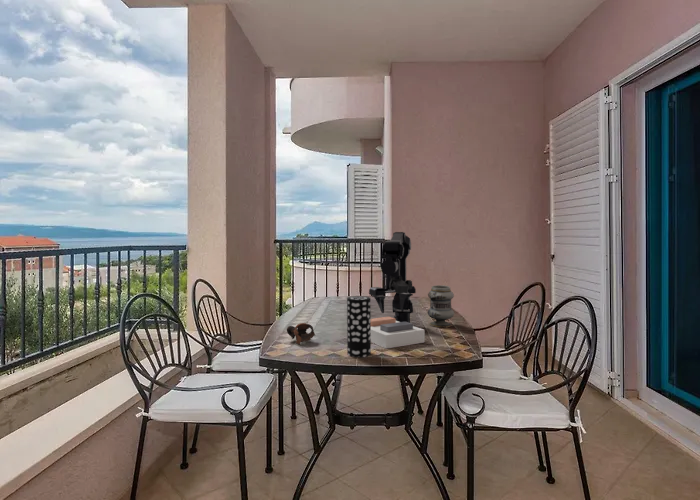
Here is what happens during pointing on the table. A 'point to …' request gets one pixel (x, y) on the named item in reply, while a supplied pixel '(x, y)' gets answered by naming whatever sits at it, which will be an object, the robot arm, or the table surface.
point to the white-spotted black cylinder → (358, 326)
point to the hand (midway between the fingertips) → (392, 312)
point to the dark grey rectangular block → (396, 326)
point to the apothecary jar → (440, 305)
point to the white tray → (396, 337)
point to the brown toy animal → (300, 332)
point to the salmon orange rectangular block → (382, 321)
